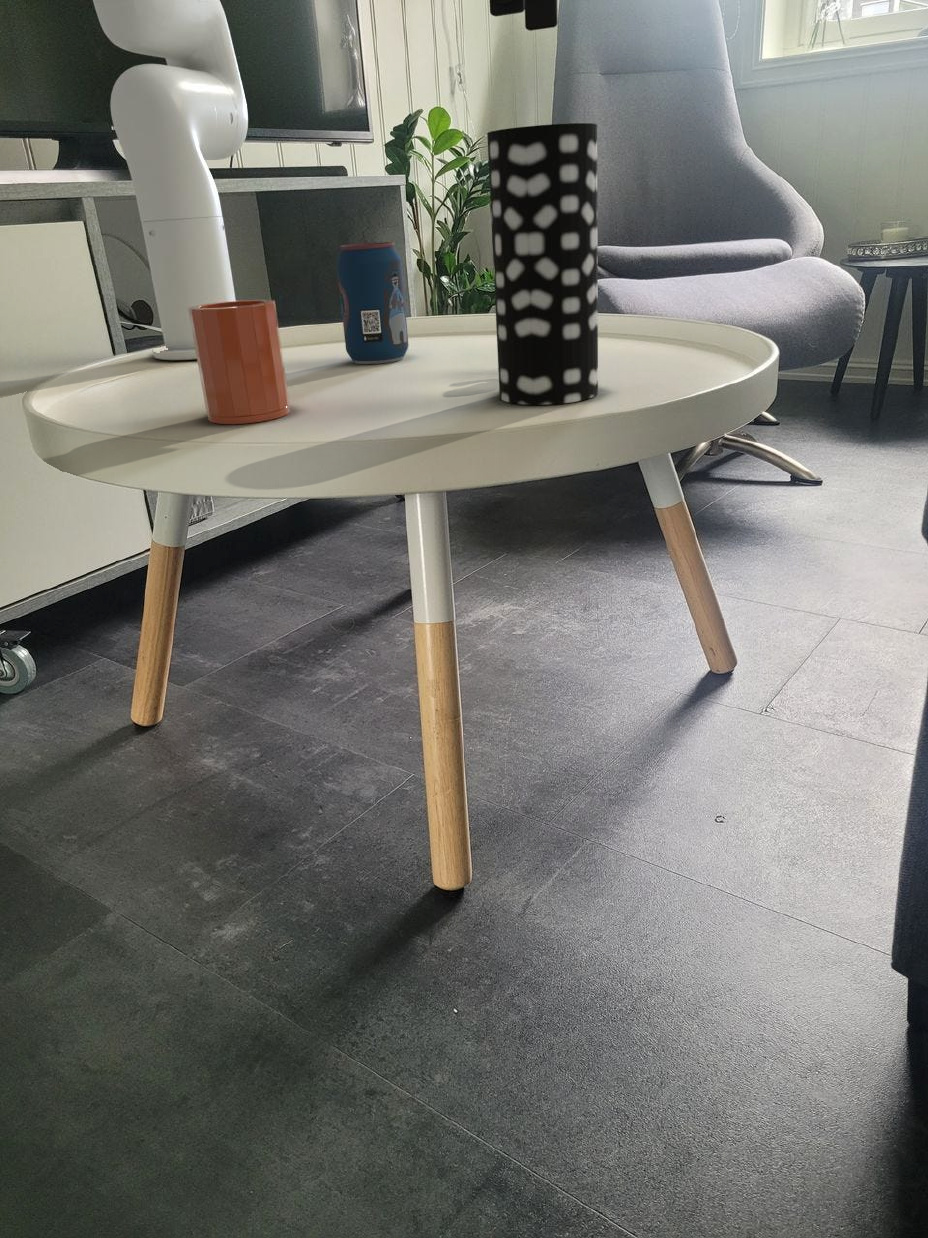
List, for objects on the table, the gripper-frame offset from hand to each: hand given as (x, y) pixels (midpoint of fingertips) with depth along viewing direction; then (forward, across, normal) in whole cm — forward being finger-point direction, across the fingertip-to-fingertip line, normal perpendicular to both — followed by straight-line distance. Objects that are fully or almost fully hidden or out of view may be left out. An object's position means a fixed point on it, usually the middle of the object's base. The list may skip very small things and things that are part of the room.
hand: (525, 21), depth 87 cm
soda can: (+31, +4, -17) cm, 35 cm away
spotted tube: (+31, +22, +9) cm, 39 cm away
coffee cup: (+31, +33, -15) cm, 47 cm away
